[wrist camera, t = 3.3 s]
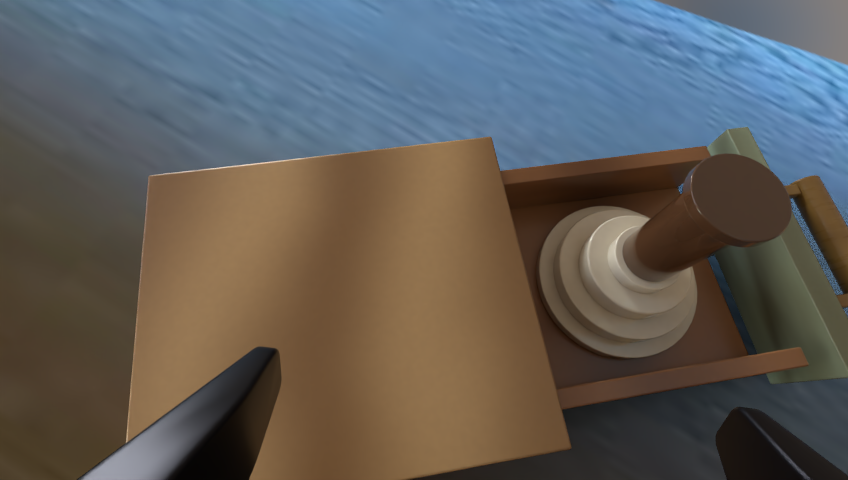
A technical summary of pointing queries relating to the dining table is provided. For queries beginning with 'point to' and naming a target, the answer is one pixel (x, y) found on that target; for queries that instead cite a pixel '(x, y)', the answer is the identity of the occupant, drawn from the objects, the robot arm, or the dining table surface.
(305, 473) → the cabinet
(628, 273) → the cream and brown stand
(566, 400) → the drawer
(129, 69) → the dining table surface
